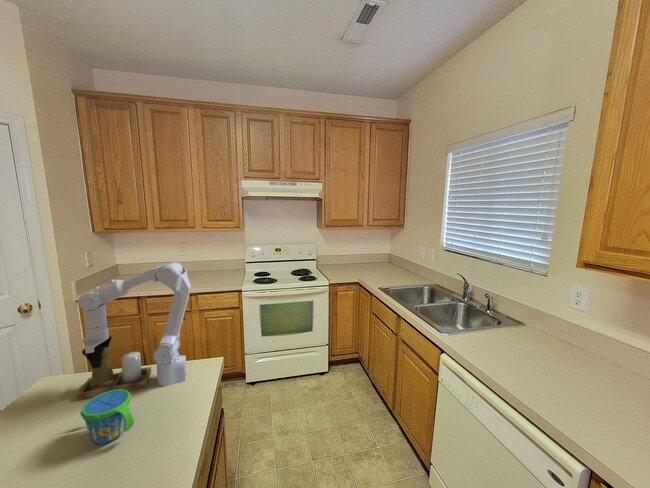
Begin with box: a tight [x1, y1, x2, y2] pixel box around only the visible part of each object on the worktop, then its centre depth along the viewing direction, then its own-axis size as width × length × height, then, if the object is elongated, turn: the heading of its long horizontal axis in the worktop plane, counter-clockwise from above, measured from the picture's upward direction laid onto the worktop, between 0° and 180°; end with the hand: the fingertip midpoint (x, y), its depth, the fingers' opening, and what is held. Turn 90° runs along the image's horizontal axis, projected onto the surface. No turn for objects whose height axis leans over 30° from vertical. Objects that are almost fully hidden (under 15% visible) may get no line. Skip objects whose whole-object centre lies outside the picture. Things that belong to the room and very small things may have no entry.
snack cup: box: [80, 389, 135, 446], centre depth 75 cm, size 16×10×10 cm
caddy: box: [76, 366, 152, 402], centre depth 96 cm, size 19×10×3 cm, turn 113°
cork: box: [91, 347, 114, 384], centre depth 94 cm, size 6×6×11 cm
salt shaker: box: [120, 351, 142, 384], centre depth 98 cm, size 6×6×10 cm
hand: (99, 363), depth 94 cm, fingers closed on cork, 5 cm apart
